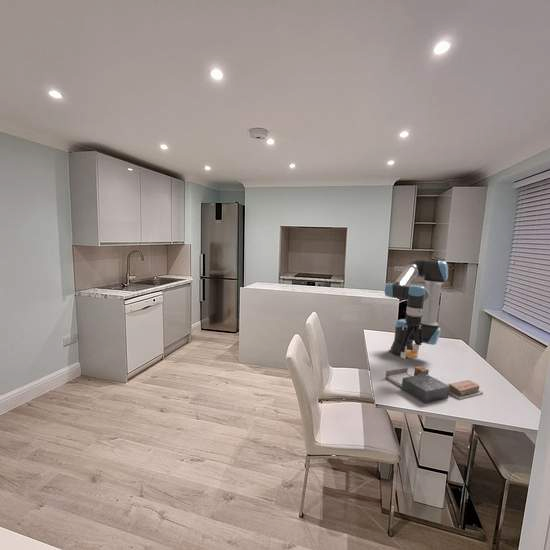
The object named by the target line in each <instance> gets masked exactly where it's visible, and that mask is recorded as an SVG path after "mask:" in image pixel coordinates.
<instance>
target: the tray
mask: <svg viewBox="0 0 550 550" xmlns="http://www.w3.org/2000/svg"><path fill="white" fill-rule="evenodd" d="M411 376H413V375H412V374H410V373H408V367H402V368H401V367H400V368H396V369H395V368H394V369H390V370H389V369H388V370H386V371H385V380H389V381H390V382H392V383H394V384H396V385H397V386H399V387H400V388H402V380H403V378H406V377H411Z"/></svg>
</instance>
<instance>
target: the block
mask: <svg viewBox="0 0 550 550" xmlns="http://www.w3.org/2000/svg"><path fill="white" fill-rule="evenodd" d="M421 374H427V375H429V369H428V368H426V367H424V366H423V365H422V366H420V365H419V366H415V367H414V372H413V376H416V375H421Z"/></svg>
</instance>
